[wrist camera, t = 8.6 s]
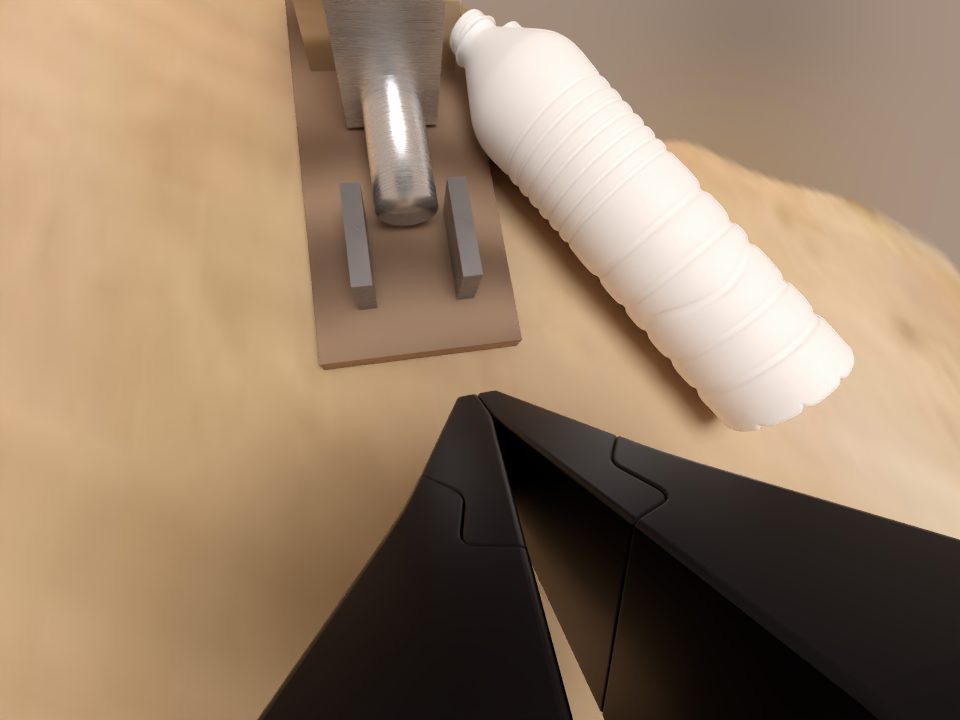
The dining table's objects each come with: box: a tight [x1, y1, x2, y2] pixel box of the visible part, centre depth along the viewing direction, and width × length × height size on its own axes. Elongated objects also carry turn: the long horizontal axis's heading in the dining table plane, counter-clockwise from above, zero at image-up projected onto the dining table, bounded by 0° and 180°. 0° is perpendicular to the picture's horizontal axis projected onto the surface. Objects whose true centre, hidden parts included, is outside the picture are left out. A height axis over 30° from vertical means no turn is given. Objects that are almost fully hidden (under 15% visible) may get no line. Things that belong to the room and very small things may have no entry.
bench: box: [285, 0, 522, 370], centre depth 22 cm, size 22×10×6 cm, turn 9°
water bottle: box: [449, 9, 854, 431], centre depth 24 cm, size 9×6×25 cm
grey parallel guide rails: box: [339, 176, 483, 310], centre depth 22 cm, size 5×6×3 cm
